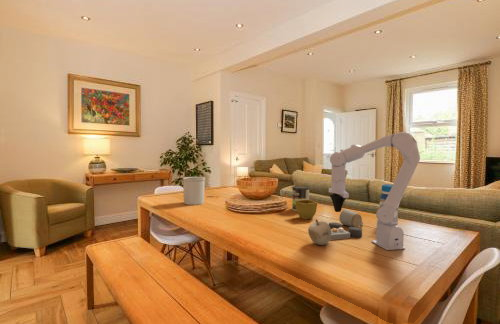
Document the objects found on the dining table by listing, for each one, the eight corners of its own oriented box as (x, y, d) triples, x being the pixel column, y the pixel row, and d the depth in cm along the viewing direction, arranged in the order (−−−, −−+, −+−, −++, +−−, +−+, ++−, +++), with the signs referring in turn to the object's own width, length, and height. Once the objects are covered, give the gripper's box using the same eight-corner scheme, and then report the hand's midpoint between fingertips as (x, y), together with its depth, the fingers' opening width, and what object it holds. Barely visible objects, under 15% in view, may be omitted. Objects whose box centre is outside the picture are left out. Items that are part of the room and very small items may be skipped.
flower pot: (317, 219, 145) (317, 202, 144) (303, 220, 141) (303, 203, 141) (308, 215, 153) (308, 199, 152) (294, 216, 149) (294, 200, 149)
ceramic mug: (352, 229, 126) (352, 213, 126) (338, 225, 133) (339, 209, 133) (367, 226, 131) (368, 211, 131) (353, 222, 138) (354, 207, 138)
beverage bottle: (400, 228, 127) (402, 186, 126) (381, 227, 129) (382, 186, 128) (395, 223, 135) (396, 184, 134) (376, 223, 137) (377, 183, 136)
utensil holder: (198, 200, 197) (198, 176, 196) (209, 203, 186) (209, 177, 185) (179, 202, 188) (179, 177, 187) (189, 206, 176) (189, 179, 176)
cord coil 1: (343, 232, 123) (343, 225, 123) (331, 232, 122) (332, 226, 122) (337, 228, 128) (337, 222, 128) (326, 229, 127) (326, 222, 127)
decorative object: (335, 244, 107) (335, 219, 106) (323, 250, 101) (323, 223, 100) (316, 238, 113) (316, 215, 113) (303, 244, 107) (303, 219, 107)
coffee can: (298, 212, 160) (298, 188, 159) (288, 208, 169) (289, 186, 168) (312, 210, 164) (313, 187, 163) (302, 207, 173) (302, 185, 172)
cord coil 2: (364, 237, 115) (364, 230, 115) (352, 238, 114) (352, 231, 114) (357, 233, 121) (357, 226, 121) (345, 234, 120) (345, 227, 120)
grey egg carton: (350, 238, 114) (350, 230, 114) (328, 241, 112) (328, 232, 112) (340, 233, 121) (340, 225, 121) (320, 235, 119) (320, 227, 119)
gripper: (322, 178, 123) (321, 208, 124) (337, 182, 109) (336, 216, 109) (336, 178, 124) (336, 207, 125) (353, 182, 110) (353, 215, 111)
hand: (337, 211), depth 117 cm, fingers closed
